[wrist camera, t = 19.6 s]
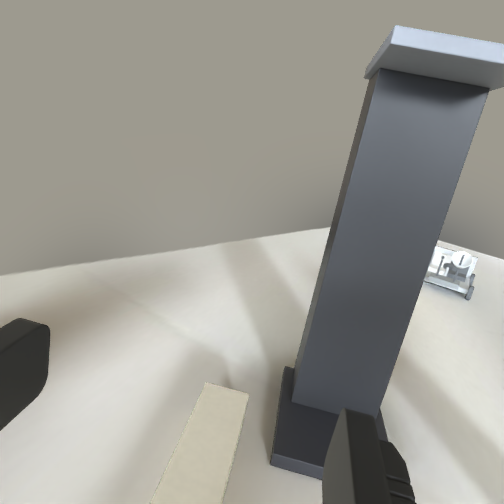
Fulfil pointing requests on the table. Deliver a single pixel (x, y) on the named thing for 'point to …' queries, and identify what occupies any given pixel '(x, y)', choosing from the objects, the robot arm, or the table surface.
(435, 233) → the dark grey pillar
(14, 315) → the table surface
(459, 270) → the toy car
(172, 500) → the cream rectangular bar
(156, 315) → the table surface
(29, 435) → the table surface
